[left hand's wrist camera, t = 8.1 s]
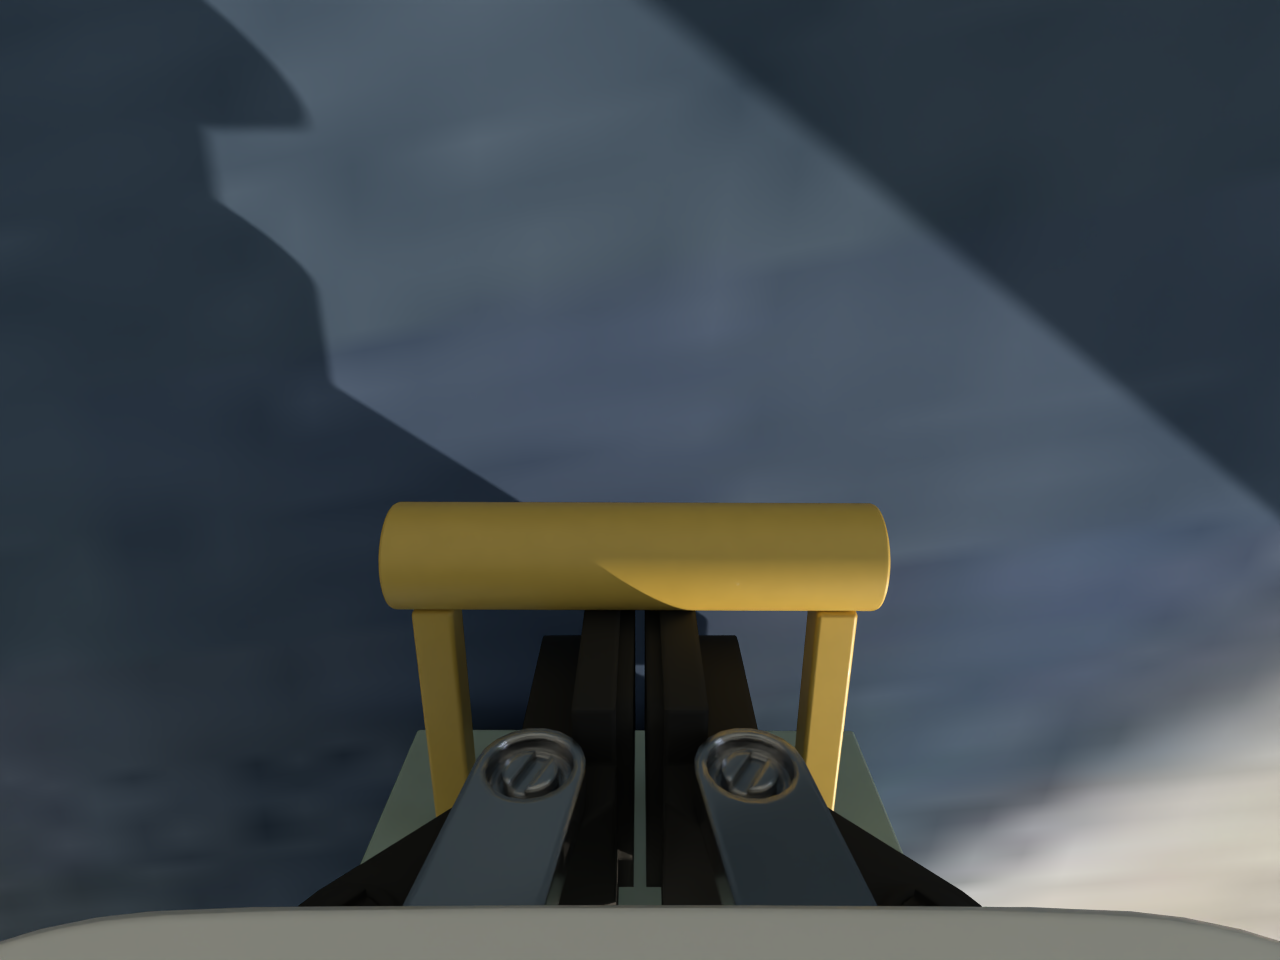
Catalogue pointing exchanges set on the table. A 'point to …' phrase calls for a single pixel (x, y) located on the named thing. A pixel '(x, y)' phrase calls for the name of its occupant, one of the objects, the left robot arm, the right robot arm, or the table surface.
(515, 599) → the drawer
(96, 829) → the table surface
